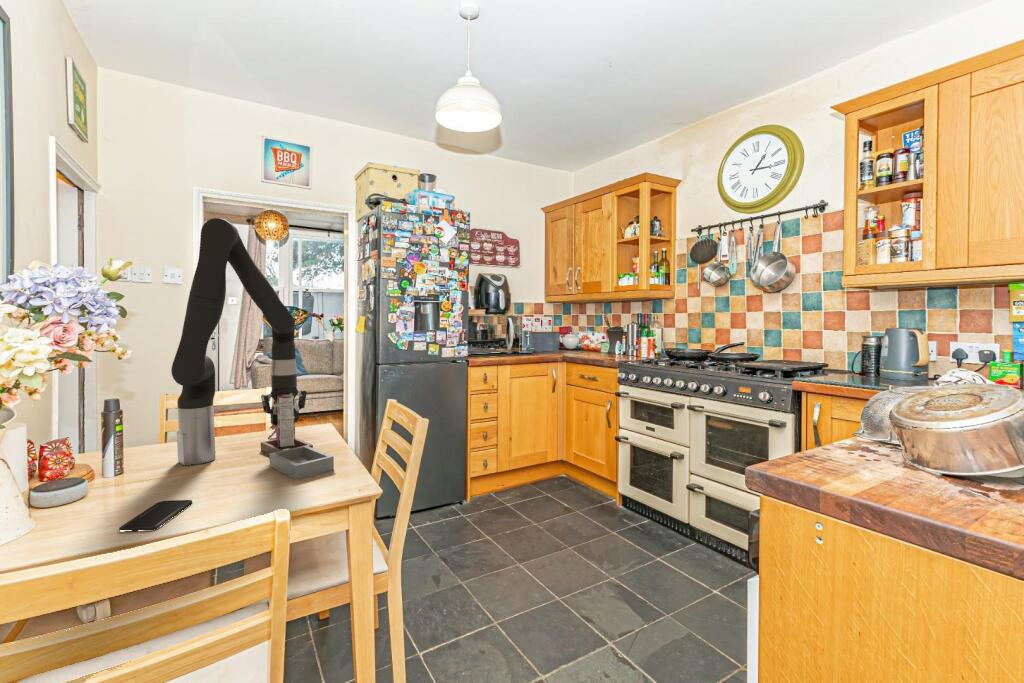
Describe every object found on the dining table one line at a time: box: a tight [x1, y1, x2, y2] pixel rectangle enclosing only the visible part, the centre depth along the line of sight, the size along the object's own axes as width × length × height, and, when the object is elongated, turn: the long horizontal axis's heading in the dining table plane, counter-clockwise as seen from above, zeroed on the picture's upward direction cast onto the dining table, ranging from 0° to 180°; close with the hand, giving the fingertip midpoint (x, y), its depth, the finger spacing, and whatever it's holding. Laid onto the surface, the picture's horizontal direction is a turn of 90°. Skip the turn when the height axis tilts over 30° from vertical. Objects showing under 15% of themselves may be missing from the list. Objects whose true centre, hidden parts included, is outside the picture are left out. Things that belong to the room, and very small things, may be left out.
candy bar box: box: [275, 394, 296, 448], centre depth 158 cm, size 11×5×16 cm, turn 31°
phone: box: [118, 499, 193, 531], centre depth 110 cm, size 8×1×15 cm
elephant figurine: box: [267, 424, 276, 440], centre depth 177 cm, size 10×6×9 cm
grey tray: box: [268, 446, 335, 480], centre depth 143 cm, size 11×17×4 cm, turn 49°
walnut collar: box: [260, 437, 314, 455], centre depth 158 cm, size 10×16×3 cm, turn 49°
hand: (285, 423), depth 158 cm, fingers closed on candy bar box, 6 cm apart
